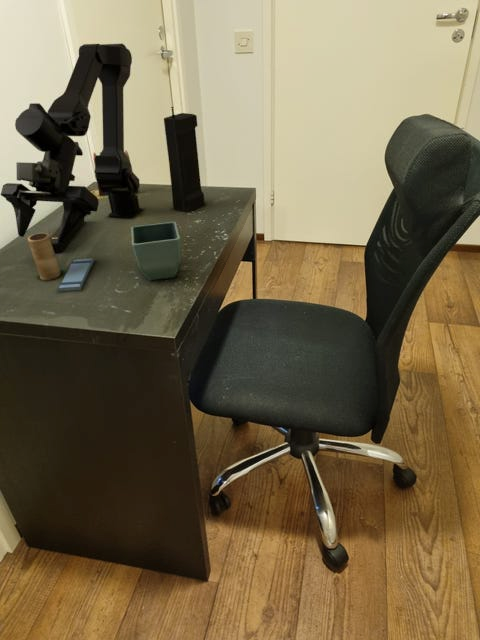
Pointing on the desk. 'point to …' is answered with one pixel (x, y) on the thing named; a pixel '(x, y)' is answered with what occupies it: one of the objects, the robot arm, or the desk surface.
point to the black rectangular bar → (60, 244)
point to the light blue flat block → (76, 275)
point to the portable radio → (183, 161)
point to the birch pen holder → (44, 256)
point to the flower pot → (157, 249)
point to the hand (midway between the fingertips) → (40, 237)
